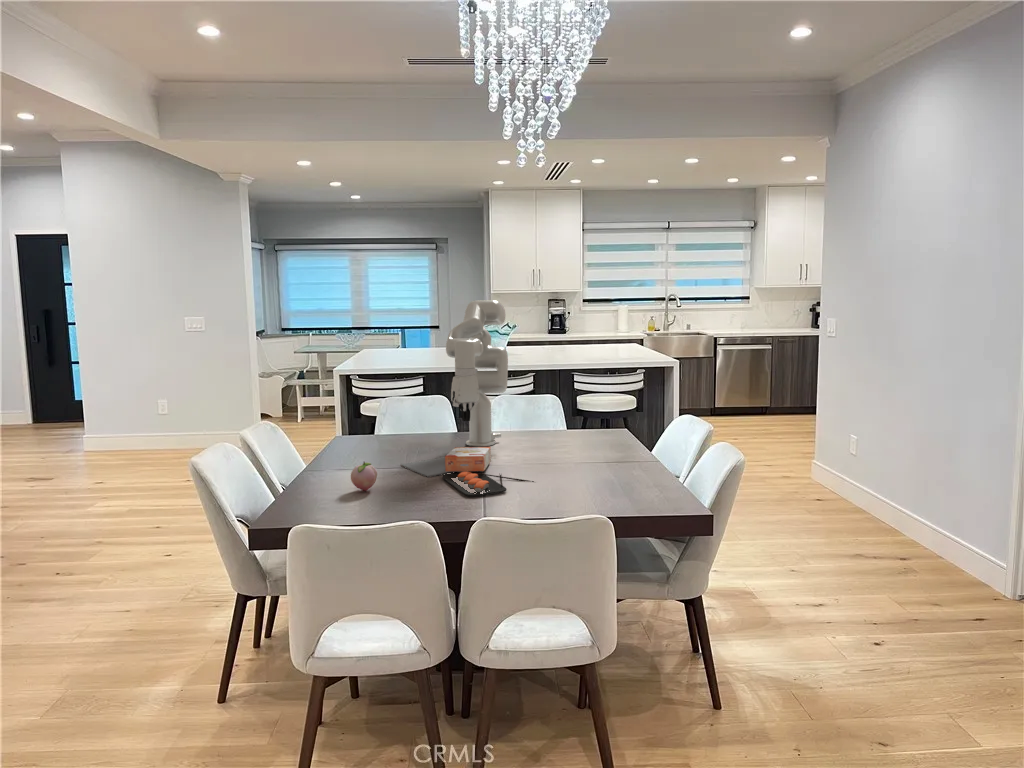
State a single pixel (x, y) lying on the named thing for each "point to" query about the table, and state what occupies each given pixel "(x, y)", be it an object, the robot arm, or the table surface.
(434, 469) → the mat
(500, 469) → the table surface
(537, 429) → the table surface
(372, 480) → the decorative fruit
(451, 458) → the cracker box
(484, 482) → the sushi plate
